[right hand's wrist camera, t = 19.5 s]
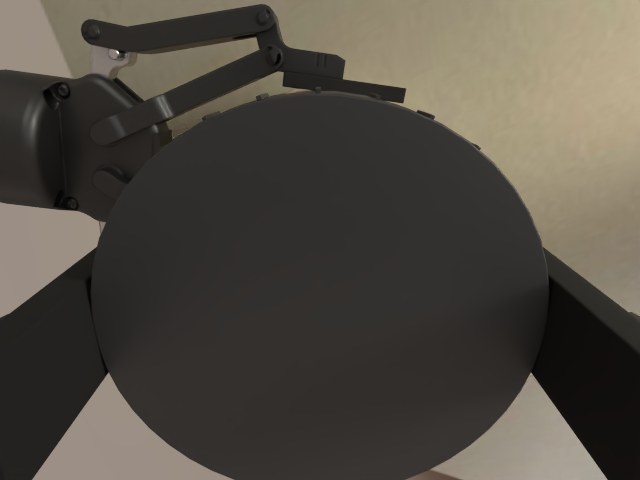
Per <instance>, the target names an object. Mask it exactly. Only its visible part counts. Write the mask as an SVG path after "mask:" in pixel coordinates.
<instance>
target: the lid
mask: <svg viewBox="0 0 640 480" xmlns="http://www.w3.org/2000/svg"><path fill="white" fill-rule="evenodd" d="M256 99H257V100H256V101H252V102H249V103H246V104H243V105H240V106H237V107H235V108H232V109H230V110H227V111H225V112H223V113H221V114H220V112H219V111H218V112H215V113H213V114H210V115H207V116H204V117H203V118H202V120H203V122H200V123H199V124H197V125H196V126H194V127H192V128H191V129H189V130H188V131H186V132H184V133H183V134H181V135H180V136H178V137H176V138H175V139H173V140H172V141H171V142H169V143H168V144H167V145H165V146H162V147H160V148H159V149H158V150H157V152H158V153H157V154H155V155H154V156H153V157H152V158H151V159H150V160H148V161H147V162H146V163H145V165H144V166H143V167H142V168H141V169H140V170H139V172H138V173H137V174H136V175H135V176H134V177H133V179H132V180H131V181H130V182H129V183H128V184H127V186H126V187H125V189H124V190H123V192H122V194H121V195H120V197H119V198H118V200H117V202H116V203H115V205H114V207H113V208H112V210H111V212H110V214H109V216H108V219H107V221H106V223H105V226H104V228H103V230H102V233H101V235H100V238H99V242H98V246H97V250H96V254H95V258H94V262H93V267H92V279H91V290H90V296H91V310H92V321H93V325H94V330H95V334H96V339H97V343H98V347H99V349H100V352H101V355H102V357H103V360H104V363H105V365H106V368H107V370H108V372H109V373H110V375H111V377H112V379H113V381H114V383H115V384H116V386H117V388H118V390H119V391H120V393H121V394H122V396H123V397H124V398H125V400H126V401H127V403H128V404H129V405H130V407H131V408H132V409H133V411H134V412H135V413H136V414H137V415H138V416H139V417H140V418H141V419H142V420H143V422H144V423H145V424H146V425H147V426H148V427H149V428H150V429H151V430H152V431H153V432H155V433H156V434H157V435H158V436H159V437H160V438H162V439H163V440H164V441H165V442H166V443H167V444H169V445H170V446H172V447H173V448H175V449H176V450H177V451H179V452H180V453H182V454H183V455H185V456H186V457H188V458H189V459H191V460H193V461H195V462H197V463H199V464H200V465H202V466H204V467H206V468H208V469H210V470H212V471H214V472H217V473H219V474H222V475H224V476H227V477H229V478H232V479H234V480H405V479H408V478H410V477H413V476H415V475H418V474H420V473H423V472H425V471H428V470H429V469H431V468H433V467H435V466H437V465H439V464H441V463H443V462H445V461H447V460H448V459H450V458H452V457H453V456H455V455H456V454H458V453H459V452H461V451H462V450H464V449H465V448H467V447H468V446H469V445H471V444H472V443H473V442H474V441H475V440H477V439H478V438H479V437H480V436H481V435H483V434H484V433H485V432H486V431H487V430H488V429H490V427H491V426H492V425H493V424H494V423H495V422H496V421H497V420H498V419H499V418H500V417H501V416H502V415H503V414H504V412H505V411H506V410H507V409H508V407H509V406H510V405H511V403H512V402H513V401H514V399H515V398H516V396H517V395H518V394H519V392H520V391H521V389H522V387H523V385H524V384H525V382H526V380H527V378H528V376H529V375H530V373H531V371H532V369H533V367H534V364H535V361H536V359H537V356H538V353H539V351H540V348H541V345H542V341H543V336H544V332H545V327H546V323H547V318H548V305H549V283H548V270H547V263H546V259H545V255H544V251H543V247H542V243H541V239H540V236H539V234H538V231H537V229H536V226H535V224H534V222H533V219H532V217H531V214H530V212H529V210H528V209H527V207H526V205H525V204H524V202H523V201H522V199H521V197H520V196H519V194H518V192H517V191H516V189H515V187H514V186H513V185H512V184H511V182H510V181H509V180H508V179H507V178H506V177H505V175H504V174H503V173H502V172H501V171H500V170H499V168H498V167H497V166H496V165H495V164H494V163H493V162H492V161H491V160H490V159H489V158H488V157H487V156H485V155H484V154H483V153H482V152H481V151H480V149H481V148H480V147H479V146H477V145H475V144H473V143H471V142H469V141H468V140H466V139H465V138H463V137H462V136H460V135H458V134H457V133H455V132H454V131H452V130H451V129H449V128H447V127H446V126H444V125H443V124H441V123H439V122H437V121H435V120H434V118H435V116H433V115H431V114H429V113H426V112H423V111H420V110H418V111H417V112H415V111H413V110H410V109H408V108H405V107H402V106H400V105H397V104H394V103H390V102H387V101H384V100H380V95H377V94H373V93H369V94H368V96H366V95H360V94H353V93H346V92H339V91H321V87H316V91H302V92H294V93H287V94H280V95H274V96H270V97H269V96H268V93H266V94H262V95H259V96H256Z"/></svg>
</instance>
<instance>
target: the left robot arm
mask: <svg viewBox="0 0 640 480" xmlns="http://www.w3.org/2000/svg"><path fill="white" fill-rule="evenodd" d="M81 32H82V36H83V38H84V39H85V40H86V41H87V42H88V43H89V44H91V74H88V75H86V76H84V77H82V78H79V79H71V78H63V77H56V76H49V75H42V74H34V73H27V72H20V71H12V70H0V202H2V203H7V204H15V205H24V206H32V207H40V208H49V209H57V210H72V211H80V212H82V213H85V214H87V215H89V216H91V217H92V218H94V219H95V220H98V221H99V225H100V233H102V230H103V228H104V226H105V223H106V221H107V219H108V216H109V214H110V212H111V210H112V208H113V207H114V205H115V203H116V202H117V200H118V198H119V197H120V195H121V194H122V192H123V190H124V189H125V187H126V186H127V184H128V183H129V182H130V181H131V180H132V179H133V177H134V176H135V175H136V174H137V173H138V172H139V170H140V169H141V168H142V167H143V166H144V165H145V163H146V162H147V161H148V160H150V159H151V158H152V157H153V156H154V155H155V154H157V153H158V152H157V150H158V149H159V148H160V147H162V146H165V145H167V144H168V143H169V142H171V141H172V130H169V129H168V126H167V124H166V121H168V120H170V119H173V118H175V117H177V116H179V115H182V114H184V113H185V112H187V111H190V110H192V109H194V108H196V107H199V106H201V105H203V104H205V103H208V102H210V101H212V100H214V99H217V98H219V97H221V96H223V95H226V94H228V93H230V92H232V91H234V90H237V89H239V88H241V87H243V86H246V85H248V84H250V83H252V82H255V81H257V80H259V79H261V78H264V77H266V76H268V75H270V74H273V73H275V72H277V71H281V72H284V77H283V86H284V87H291V88H298V89H305V90H312V91H316V87H321V91H339V92H346V93H353V94H360V95H366V96H368V94H369V93H373V94H377V95H380V100H384V101H390V102H397V103H403V102H404V97H405V92H406V89H405V88H398V87H392V86H385V85H378V84H371V83H364V82H357V81H350V80H343V72H344V66H345V60H344V59H342V58H340V57H339V56H337V55H333V54H326V53H319V52H312V51H306V50H299V49H292V48H289V47H287V46H286V45H285V44H284V42H283V40H282V37H281V33H280V28H279V24H278V19H277V16H276V15H275V13H274V12H273V10H272V9H271V8H270V7H269V6H267V5H263V4H260V5H254V6H248V7H242V8H236V9H230V10H224V11H218V12H212V13H206V14H200V15H195V16H189V17H183V18H177V19H171V20H165V21H159V22H153V23H147V24H141V25H135V26H129V27H126V26H121V25H116V24H112V23H107V22H103V21H98V20H94V19H89V20H86V21H85V22H84V23H83V24H82V28H81ZM254 37H257V41H258V45H259V49H260V50H258V51H256V52H254V53H251V54H249V55H247V56H245V57H243V58H240V59H238V60H236V61H234V62H232V63H230V64H227V65H225V66H223V67H221V68H219V69H216V70H214V71H212V72H210V73H208V74H205V75H203V76H201V77H199V78H197V79H194V80H192V81H190V82H188V83H186V84H184V85H181V86H179V87H177V88H175V89H173V90H170V91H168V92H166V93H164V94H161V95H158V96H155V97H153V98H151V99H148V100H146V101H144V100H142V99H141V98H140V97H139V96H138V95H137V94H136V93H134V92H133V91H132V90H131V89H130V88H129V87H127V86H126V85H125V84H124V83H123V82H122V81H121V80H119V79H118V78H117V73H118V71H119V70H120V69H121V68H123V67H130V66H132V65H134V64H135V63H136V61H137V53H141V54H156V53H164V52H170V51H176V50H182V49H188V48H194V47H200V46H206V45H212V44H218V43H224V42H230V41H236V40H242V39H248V38H254Z"/></svg>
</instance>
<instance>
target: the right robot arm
mask: <svg viewBox="0 0 640 480" xmlns="http://www.w3.org/2000/svg"><path fill="white" fill-rule="evenodd" d="M96 250H97V247H96V248H95V249H94V250H92V251H91V252H90V253H88V254H87V255H86V256H84V257H83V258H82V259H81V260H79V261H78V262H77V263H75V264H74V265H73V266H71V267H70V268H69V269H67V270H66V271H65V272H64V273H62V274H61V275H60V276H58V277H57V278H56V279H54V280H53V281H52V282H50V283H49V284H48V285H47V286H45V287H44V288H43V289H41V290H40V291H39V292H38V293H36V294H35V295H33V296H32V297H31V298H30V299H28V300H27V301H26V302H24V303H23V304H22V305H20V306H19V307H18V308H16V309H15V310H14V311H13V312H11V313H10V314H7V315H5V316H3V317H1V318H0V480H32V479H33V477H34V476H35V475H36V473H37V472H38V470H39V469H40V468H41V466H42V465H43V463H44V462H45V461H46V459H47V458H48V456H49V455H50V454H51V452H52V451H53V449H54V448H55V447H56V445H57V444H58V442H59V441H60V440H61V438H62V437H63V435H64V434H65V433H66V431H67V430H68V428H69V427H70V426H71V424H72V423H73V421H74V420H75V419H76V417H77V416H78V414H79V413H80V411H81V410H82V409H83V407H84V406H85V405H86V403H87V402H88V400H89V399H90V398H91V396H92V395H93V393H94V392H95V391H96V389H97V388H98V386H99V385H100V383H101V382H102V381H103V379H104V378H105V376H106V375H107V374H108V370H107V368H106V365H105V363H104V360H103V357H102V355H101V352H100V349H99V347H98V343H97V339H96V334H95V330H94V325H93V321H92V310H91V296H90V290H91V279H92V267H93V262H94V258H95V254H96ZM543 251H544V255H545V259H546V263H547V270H548V283H549V305H548V318H547V323H546V327H545V332H544V336H543V341H542V345H541V348H540V351H539V353H538V356H537V359H536V361H535V364H534V367H533V369H532V371H531V373H532V374H533V376H534V377H535V378H536V380H537V381H538V383H539V384H540V385H541V387H542V388H543V390H544V391H545V392H546V394H547V395H548V397H549V398H550V399H551V401H552V402H553V404H554V405H555V406H556V408H557V409H558V411H559V412H560V413H561V415H562V416H563V418H564V419H565V420H566V422H567V423H568V425H569V426H570V427H571V429H572V430H573V432H574V433H575V434H576V436H577V437H578V439H579V440H580V441H581V443H582V444H583V446H584V447H585V448H586V450H587V451H588V453H589V454H590V455H591V457H592V458H593V460H594V461H595V462H596V464H597V465H598V467H599V468H600V469H601V471H602V472H603V474H604V475H605V476H606V478H607V479H608V480H640V316H638V315H636V314H634V313H632V312H627V311H626V310H625V309H623V308H622V307H621V306H619V305H618V304H617V303H615V302H614V301H613V300H611V299H610V298H609V297H608V296H606V295H605V294H604V293H602V292H601V291H600V290H598V289H597V288H596V287H594V286H593V285H592V284H591V283H589V282H588V281H587V280H585V279H584V278H583V277H581V276H580V275H579V274H577V273H576V272H575V271H574V270H572V269H571V268H570V267H568V266H567V265H566V264H564V263H563V262H562V261H561V260H559V259H558V258H557V257H555V256H554V255H553V254H551V253H550V252H549V251H547V250H546V249H545V248H544V247H543Z"/></svg>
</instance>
